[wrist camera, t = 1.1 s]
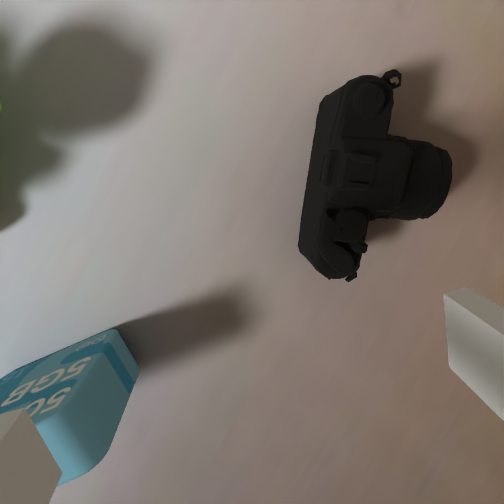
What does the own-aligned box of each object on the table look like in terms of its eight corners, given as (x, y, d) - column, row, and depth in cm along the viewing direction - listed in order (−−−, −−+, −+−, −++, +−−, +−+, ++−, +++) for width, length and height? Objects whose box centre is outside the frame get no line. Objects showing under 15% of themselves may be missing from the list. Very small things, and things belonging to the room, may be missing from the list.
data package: (121, 323, 32) (64, 412, 21) (144, 362, 33) (103, 468, 22) (2, 374, 33) (-119, 491, 21) (29, 412, 34) (-72, 543, 22)
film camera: (387, 269, 33) (446, 306, 25) (287, 258, 32) (311, 293, 24) (427, 98, 30) (512, 72, 21) (317, 79, 29) (358, 43, 20)
